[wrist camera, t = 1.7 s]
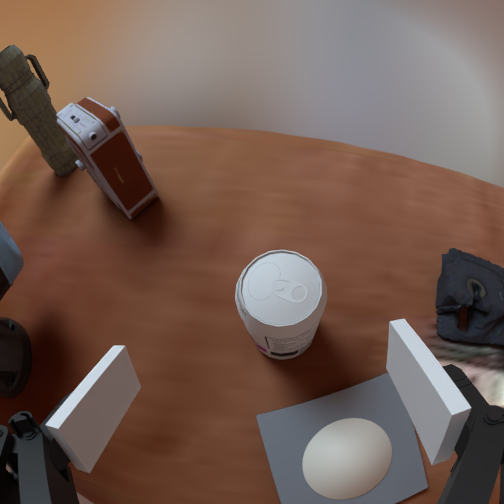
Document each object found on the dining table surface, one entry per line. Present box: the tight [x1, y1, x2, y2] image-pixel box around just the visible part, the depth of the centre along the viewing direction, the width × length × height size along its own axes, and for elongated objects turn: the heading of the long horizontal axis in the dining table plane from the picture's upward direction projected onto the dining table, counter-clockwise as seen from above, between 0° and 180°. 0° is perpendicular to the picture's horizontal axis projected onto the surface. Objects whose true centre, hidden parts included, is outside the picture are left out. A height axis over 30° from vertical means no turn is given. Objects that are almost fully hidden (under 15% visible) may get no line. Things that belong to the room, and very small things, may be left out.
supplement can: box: [235, 250, 327, 360], centre depth 32 cm, size 8×8×15 cm
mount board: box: [256, 373, 428, 504], centre depth 29 cm, size 18×18×2 cm
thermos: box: [0, 45, 81, 176], centre depth 47 cm, size 9×12×35 cm
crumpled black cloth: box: [436, 248, 504, 345], centre depth 34 cm, size 15×22×5 cm
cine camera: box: [56, 97, 158, 219], centre depth 46 cm, size 9×19×20 cm, turn 47°
